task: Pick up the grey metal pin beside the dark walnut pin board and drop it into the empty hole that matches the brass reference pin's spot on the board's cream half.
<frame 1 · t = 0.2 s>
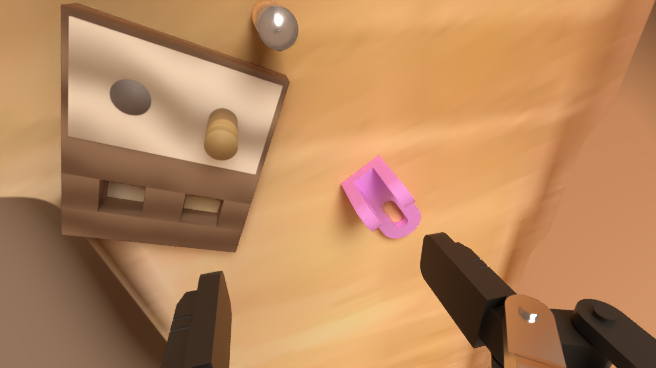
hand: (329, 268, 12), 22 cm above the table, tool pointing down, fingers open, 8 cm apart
bracket: (383, 199, 41), on the table
pin board: (175, 149, 30), on the table
grey metal pin: (266, 16, 26), on the table
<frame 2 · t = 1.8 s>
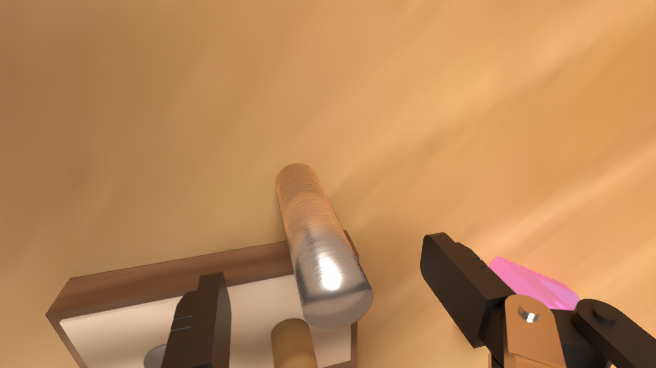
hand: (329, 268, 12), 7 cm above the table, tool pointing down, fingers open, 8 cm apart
bracket: (517, 293, 29), on the table
pin board: (244, 355, 23), on the table
grey metal pin: (296, 182, 18), on the table
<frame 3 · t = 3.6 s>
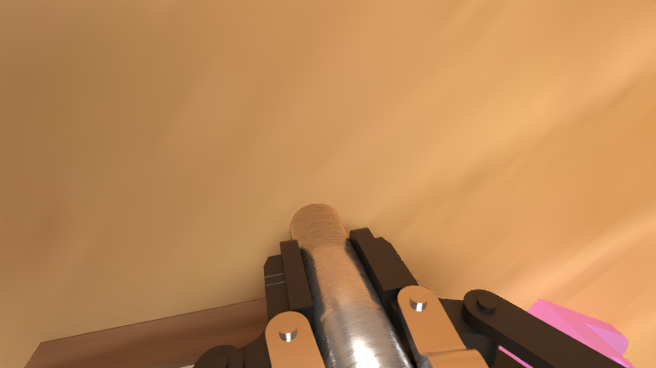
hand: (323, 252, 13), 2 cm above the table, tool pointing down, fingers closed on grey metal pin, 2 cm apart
bracket: (557, 335, 26), on the table
grey metal pin: (315, 225, 15), on the table, touching gripper
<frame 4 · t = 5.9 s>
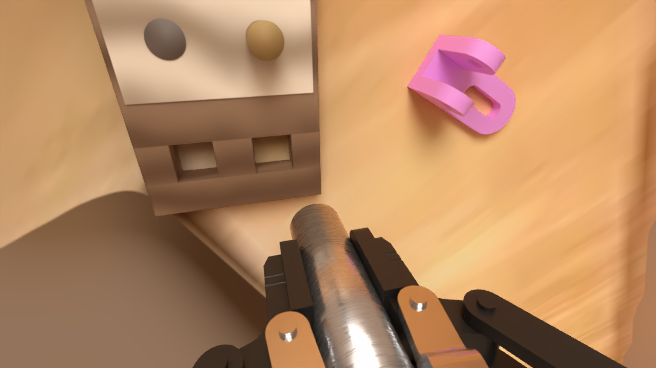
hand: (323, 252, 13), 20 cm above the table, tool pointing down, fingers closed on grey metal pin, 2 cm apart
bracket: (462, 91, 34), on the table
pin board: (227, 97, 28), on the table
grey metal pin: (315, 225, 15), point 18 cm above the table, touching gripper
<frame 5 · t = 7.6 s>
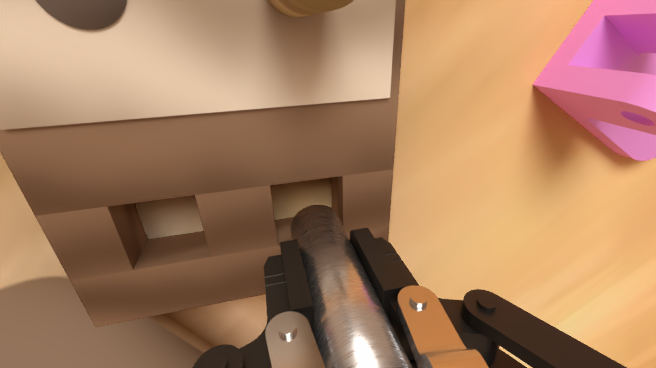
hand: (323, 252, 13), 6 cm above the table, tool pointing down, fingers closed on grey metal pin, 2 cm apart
bracket: (612, 92, 21), on the table
pin board: (224, 109, 15), on the table
grey metal pin: (315, 226, 15), point 4 cm above the table, touching gripper
when the fingers open (4 cm above the table, at t = 8.6 s): grey metal pin drops 1 cm, resting in pin board.
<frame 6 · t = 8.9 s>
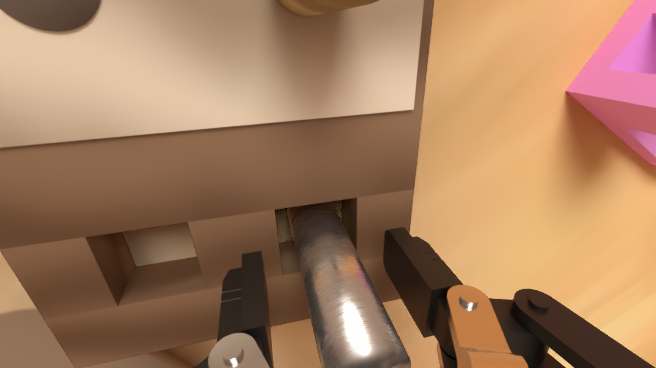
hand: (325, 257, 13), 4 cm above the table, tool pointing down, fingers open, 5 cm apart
bracket: (650, 98, 19), on the table
pin board: (221, 122, 13), on the table
grey metal pin: (310, 209, 16), resting in pin board
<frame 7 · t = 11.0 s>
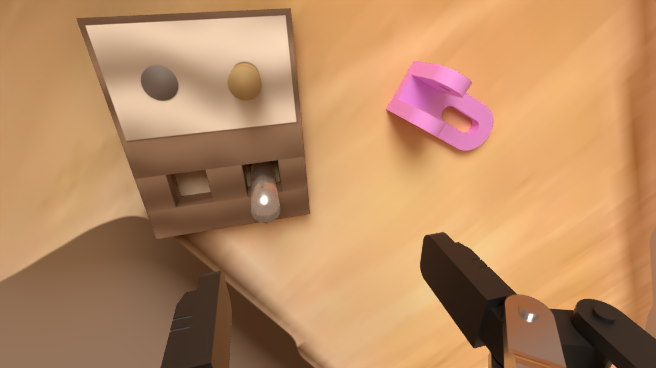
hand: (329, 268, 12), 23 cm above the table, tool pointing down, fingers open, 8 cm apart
bracket: (441, 111, 36), on the table
pin board: (218, 128, 31), on the table
grey metal pin: (262, 169, 34), resting in pin board
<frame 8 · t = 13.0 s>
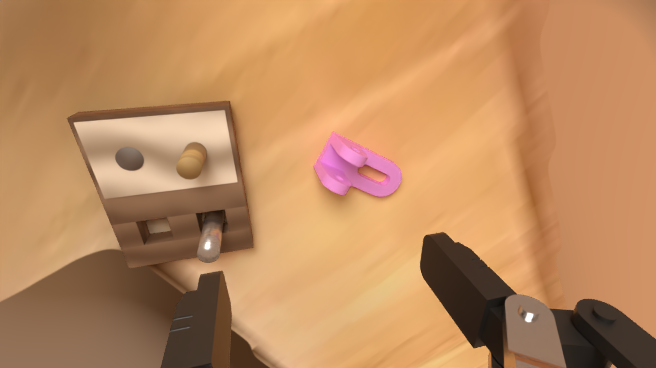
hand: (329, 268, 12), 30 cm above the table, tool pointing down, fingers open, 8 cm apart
bracket: (360, 166, 45), on the table
pin board: (178, 184, 40), on the table
grey metal pin: (215, 213, 43), resting in pin board
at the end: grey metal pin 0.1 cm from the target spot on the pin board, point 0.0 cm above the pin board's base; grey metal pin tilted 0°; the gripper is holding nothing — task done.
